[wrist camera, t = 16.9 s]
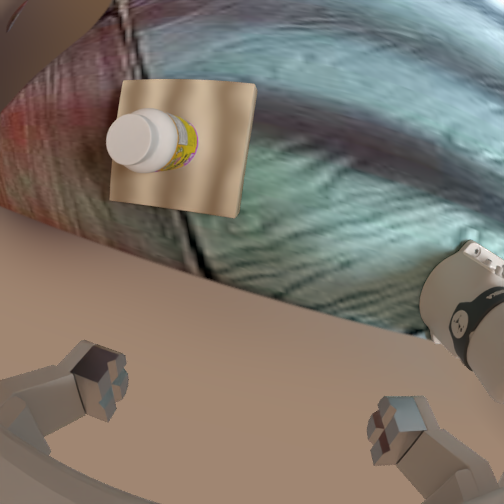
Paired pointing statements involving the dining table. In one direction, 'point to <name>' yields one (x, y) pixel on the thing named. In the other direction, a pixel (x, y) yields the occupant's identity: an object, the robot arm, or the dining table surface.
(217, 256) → the dining table surface
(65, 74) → the dining table surface
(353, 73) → the dining table surface
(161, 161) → the supplement bottle
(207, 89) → the birch plinth
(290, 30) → the dining table surface
